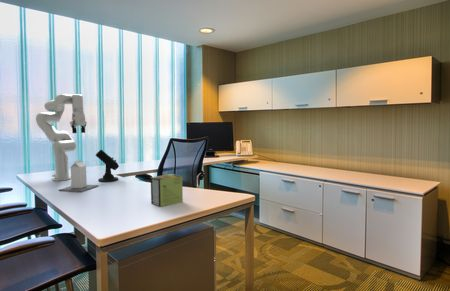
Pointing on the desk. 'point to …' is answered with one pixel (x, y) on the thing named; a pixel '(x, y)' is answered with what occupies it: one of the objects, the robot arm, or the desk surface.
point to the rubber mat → (79, 188)
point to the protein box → (166, 190)
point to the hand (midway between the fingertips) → (78, 133)
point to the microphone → (107, 167)
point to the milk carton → (78, 175)
